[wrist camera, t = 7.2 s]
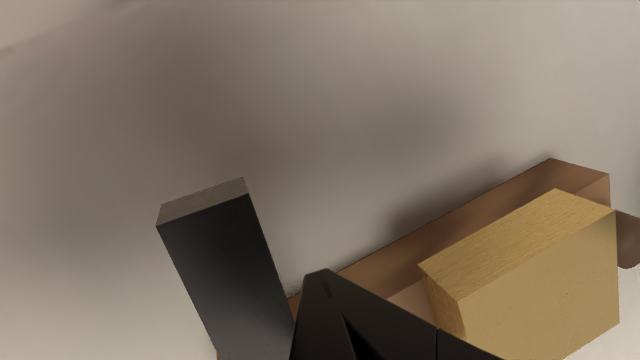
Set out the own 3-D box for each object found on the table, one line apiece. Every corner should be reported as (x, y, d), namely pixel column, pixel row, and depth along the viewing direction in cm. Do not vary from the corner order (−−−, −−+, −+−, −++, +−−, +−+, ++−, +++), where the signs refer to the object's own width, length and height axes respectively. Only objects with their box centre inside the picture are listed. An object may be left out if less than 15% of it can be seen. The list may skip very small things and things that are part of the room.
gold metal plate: (555, 188, 15) (615, 209, 13) (566, 289, 18) (619, 322, 16) (417, 264, 14) (457, 302, 12) (448, 361, 17) (487, 408, 15)
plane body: (551, 158, 19) (711, 202, 13) (558, 224, 21) (703, 290, 15) (215, 337, 16) (223, 499, 10) (257, 397, 18) (284, 566, 12)
